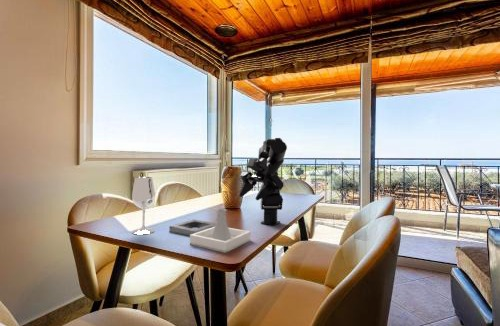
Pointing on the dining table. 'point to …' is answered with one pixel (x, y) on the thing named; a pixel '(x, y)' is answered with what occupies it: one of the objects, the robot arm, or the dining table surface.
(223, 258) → the dining table surface
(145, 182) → the wineglass
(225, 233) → the flask
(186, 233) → the holder
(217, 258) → the dining table surface
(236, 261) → the dining table surface
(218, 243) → the tray
